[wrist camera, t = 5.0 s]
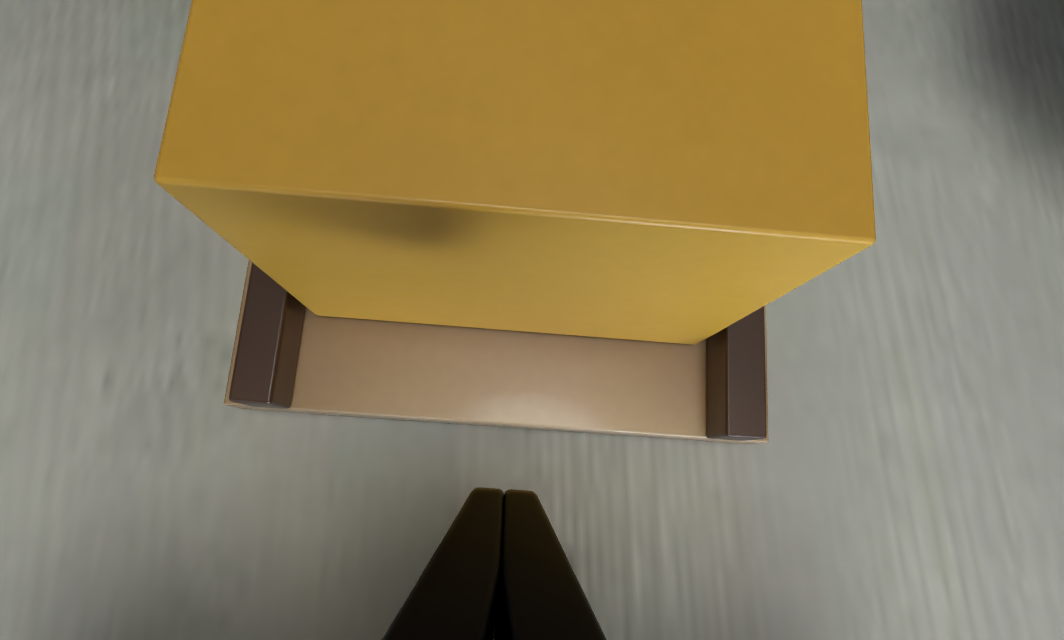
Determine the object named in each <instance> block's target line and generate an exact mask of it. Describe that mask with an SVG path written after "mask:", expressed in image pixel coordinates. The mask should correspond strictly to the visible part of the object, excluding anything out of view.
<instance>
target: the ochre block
mask: <svg viewBox="0 0 1064 640" xmlns="http://www.w3.org/2000/svg"><path fill="white" fill-rule="evenodd" d="M154 177H155V181H156V183H157V184H158V185H160V186H161V187H162V188H163V189H164V190H166V191H167V192H168V193H169V194H170V195H172V196H173V197H174V198H175V199H177V200H178V201H179V202H180V203H181V204H183V205H184V206H185V207H186V208H187V209H189V210H190V211H191V212H192V213H193V214H195V215H196V216H197V217H198V218H199V219H201V220H202V221H203V222H204V223H205V224H207V225H208V226H209V227H210V228H212V229H213V230H214V231H215V232H216V233H218V234H219V235H220V236H221V237H222V238H224V239H225V240H226V241H227V242H228V243H230V244H231V245H232V246H233V247H234V248H236V249H237V250H238V251H239V252H240V253H242V254H243V255H244V256H245V257H247V258H248V259H249V260H250V261H251V262H253V263H254V264H255V265H256V266H257V267H259V268H260V269H261V270H262V271H263V272H265V273H266V274H267V275H268V276H269V277H271V278H272V279H273V280H274V281H275V282H277V283H278V284H279V285H280V286H282V287H283V288H284V289H285V290H286V291H288V292H289V293H290V294H291V295H292V296H294V297H295V298H296V299H297V300H298V301H300V302H301V303H302V304H303V305H304V306H306V307H307V308H308V309H309V310H310V311H312V312H313V313H314V314H316V315H318V316H331V317H344V318H357V319H370V320H383V321H396V322H409V323H422V324H435V325H447V326H460V327H473V328H486V329H499V330H512V331H525V332H538V333H551V334H564V335H577V336H590V337H603V338H616V339H629V340H642V341H655V342H668V343H681V344H693V345H695V344H698V343H699V342H701V341H703V340H705V339H707V338H708V337H710V336H712V335H714V334H715V333H717V332H719V331H721V330H722V329H724V328H726V327H728V326H729V325H731V324H733V323H735V322H737V321H738V320H740V319H742V318H744V317H745V316H747V315H749V314H751V313H752V312H754V311H756V310H758V309H760V308H761V307H763V306H765V305H767V304H768V303H770V302H772V301H774V300H775V299H777V298H779V297H781V296H783V295H784V294H786V293H788V292H790V291H791V290H793V289H795V288H797V287H798V286H800V285H802V284H804V283H806V282H807V281H809V280H811V279H813V278H814V277H816V276H818V275H820V274H821V273H823V272H825V271H827V270H828V269H830V268H832V267H834V266H836V265H837V264H839V263H841V262H843V261H844V260H846V259H848V258H850V257H851V256H853V255H855V254H857V253H859V252H860V251H862V250H864V249H866V248H867V247H869V246H871V245H873V244H874V242H875V239H876V234H875V217H874V200H873V184H872V167H871V150H870V133H869V116H868V100H867V83H866V66H865V49H864V33H863V16H862V0H192V4H191V8H190V13H189V18H188V22H187V27H186V31H185V36H184V41H183V45H182V50H181V55H180V59H179V64H178V68H177V73H176V78H175V82H174V87H173V92H172V96H171V101H170V105H169V110H168V115H167V119H166V124H165V129H164V133H163V138H162V142H161V147H160V152H159V156H158V161H157V166H156V170H155V175H154Z"/></svg>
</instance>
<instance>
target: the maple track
mask: <svg viewBox="0 0 1064 640" xmlns="http://www.w3.org/2000/svg"><path fill="white" fill-rule="evenodd" d="M224 404H225V405H228V406H233V407H238V408H243V409H256V410H271V411H285V412H299V413H314V414H328V415H342V416H356V417H371V418H385V419H399V420H414V421H428V422H442V423H457V424H471V425H485V426H500V427H514V428H528V429H542V430H557V431H571V432H585V433H600V434H614V435H628V436H643V437H657V438H671V439H686V440H700V441H714V442H728V443H743V444H757V443H767V442H768V399H767V343H766V305H765V306H763V307H761V308H760V309H758V310H756V311H754V312H752V313H751V314H749V315H747V316H745V317H744V318H742V319H740V320H738V321H737V322H735V323H733V324H731V325H729V326H728V327H726V328H724V329H722V330H721V331H719V332H717V333H715V334H714V335H712V336H710V337H708V338H707V339H705V340H703V341H701V342H699V343H698V344H695V345H693V344H681V343H668V342H655V341H642V340H629V339H616V338H603V337H590V336H577V335H564V334H551V333H538V332H525V331H512V330H499V329H486V328H473V327H460V326H447V325H435V324H422V323H409V322H396V321H383V320H370V319H357V318H344V317H331V316H318V315H316V314H314V313H313V312H312V311H310V310H309V309H308V308H307V307H306V306H304V305H303V304H302V303H301V302H300V301H298V300H297V299H296V298H295V297H294V296H292V295H291V294H290V293H289V292H288V291H286V290H285V289H284V288H283V287H282V286H280V285H279V284H278V283H277V282H275V281H274V280H273V279H272V278H271V277H269V276H268V275H267V274H266V273H265V272H263V271H262V270H261V269H260V268H259V267H257V266H256V265H255V264H254V263H253V262H251V261H250V260H249V263H248V268H247V274H246V280H245V286H244V291H243V297H242V303H241V308H240V314H239V320H238V326H237V331H236V337H235V343H234V349H233V354H232V360H231V366H230V372H229V377H228V383H227V389H226V395H225V400H224Z"/></svg>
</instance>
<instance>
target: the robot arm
mask: <svg viewBox="0 0 1064 640" xmlns="http://www.w3.org/2000/svg"><path fill="white" fill-rule="evenodd" d="M493 638H494V640H606V638H605V636H604V634H603V631H602V629H601V627H600V625H599V623H598V621H597V619H596V617H595V615H594V613H593V611H592V609H591V607H590V604H589V602H588V600H587V598H586V596H585V594H584V592H583V590H582V588H581V586H580V584H579V582H578V580H577V578H576V575H575V573H574V571H573V569H572V567H571V565H570V563H569V561H568V559H567V557H566V555H565V553H564V551H563V548H562V546H561V544H560V542H559V540H558V538H557V536H556V534H555V532H554V530H553V528H552V526H551V524H550V522H549V519H548V517H547V515H546V513H545V511H544V509H543V507H542V505H541V503H540V501H539V499H538V497H537V495H536V494H535V493H534V492H533V491H525V490H507V491H506V492H505V494H504V492H503V491H502V490H501V489H494V488H475V489H474V490H473V491H472V492H471V493H470V495H469V497H468V498H467V500H466V502H465V503H464V505H463V507H462V508H461V510H460V511H459V513H458V515H457V516H456V518H455V520H454V521H453V523H452V525H451V526H450V528H449V530H448V531H447V533H446V535H445V536H444V538H443V540H442V541H441V543H440V544H439V546H438V548H437V549H436V551H435V553H434V554H433V556H432V558H431V559H430V561H429V563H428V564H427V566H426V568H425V569H424V571H423V573H422V574H421V576H420V577H419V579H418V581H417V582H416V584H415V586H414V587H413V589H412V591H411V592H410V594H409V596H408V597H407V599H406V601H405V602H404V604H403V606H402V607H401V609H400V610H399V612H398V614H397V615H396V617H395V619H394V620H393V622H392V624H391V625H390V627H389V629H388V630H387V632H386V634H385V635H384V637H383V639H382V640H493Z"/></svg>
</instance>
